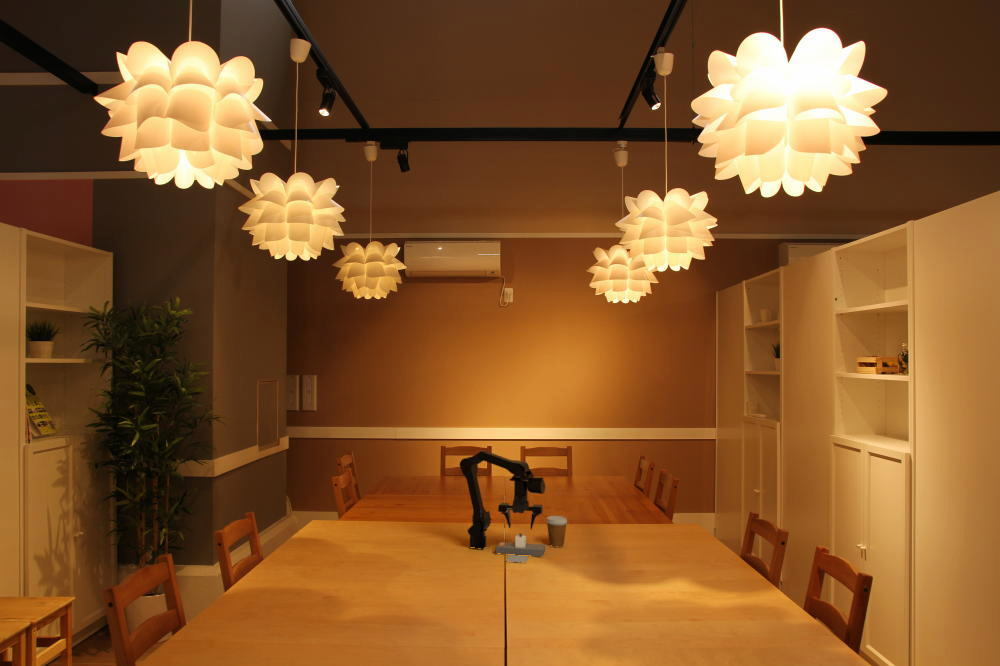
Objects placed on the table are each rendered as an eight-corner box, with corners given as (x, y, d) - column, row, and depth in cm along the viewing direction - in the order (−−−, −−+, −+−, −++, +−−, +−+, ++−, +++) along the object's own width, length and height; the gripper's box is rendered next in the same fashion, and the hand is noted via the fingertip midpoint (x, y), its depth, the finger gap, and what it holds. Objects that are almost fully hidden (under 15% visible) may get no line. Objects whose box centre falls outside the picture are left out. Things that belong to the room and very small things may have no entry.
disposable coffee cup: (568, 548, 267) (568, 520, 267) (546, 548, 267) (546, 520, 267) (566, 542, 276) (566, 515, 277) (545, 542, 276) (545, 515, 277)
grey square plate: (505, 562, 247) (505, 560, 247) (509, 556, 255) (509, 554, 255) (525, 563, 246) (525, 562, 246) (528, 557, 254) (528, 556, 254)
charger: (515, 554, 258) (515, 534, 259) (516, 551, 262) (516, 532, 263) (524, 554, 257) (524, 535, 258) (526, 552, 261) (526, 532, 262)
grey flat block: (495, 554, 258) (495, 545, 258) (499, 548, 266) (499, 540, 266) (542, 557, 254) (542, 548, 254) (545, 551, 262) (545, 543, 262)
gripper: (495, 494, 255) (495, 532, 254) (540, 496, 252) (539, 535, 251) (500, 489, 266) (500, 525, 265) (543, 491, 263) (543, 528, 262)
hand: (520, 528), depth 261 cm, fingers open, 9 cm apart
